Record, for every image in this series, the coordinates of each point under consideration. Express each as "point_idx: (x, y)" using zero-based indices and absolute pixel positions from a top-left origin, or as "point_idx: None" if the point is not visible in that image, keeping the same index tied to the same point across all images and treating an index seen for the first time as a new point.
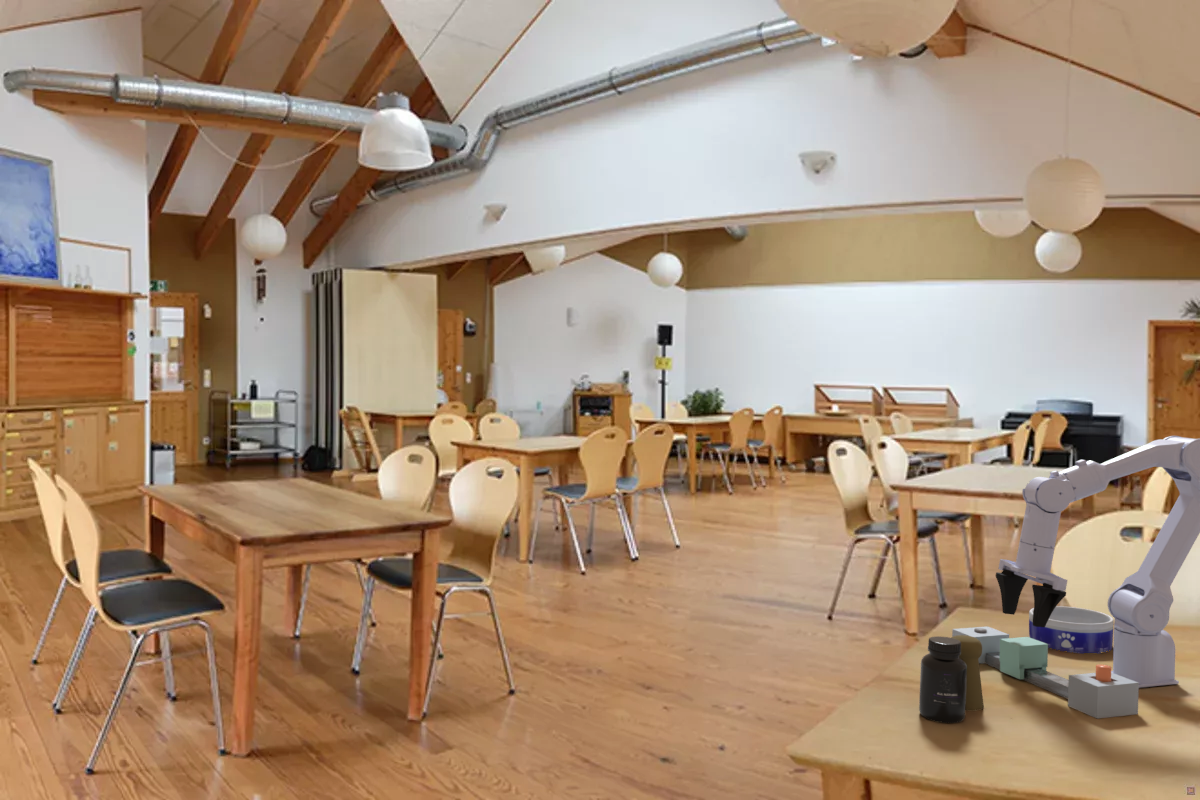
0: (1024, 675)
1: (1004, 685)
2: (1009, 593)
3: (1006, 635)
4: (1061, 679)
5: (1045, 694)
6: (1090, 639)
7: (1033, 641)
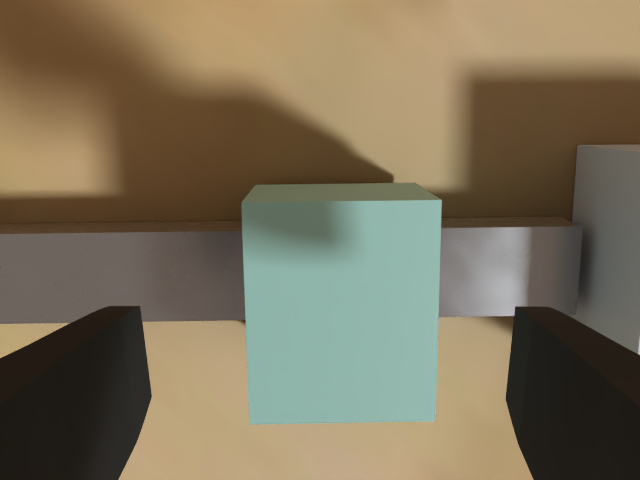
0: None
1: (228, 65)
2: (605, 457)
3: None
4: (72, 293)
5: (66, 170)
6: None
7: (326, 379)
